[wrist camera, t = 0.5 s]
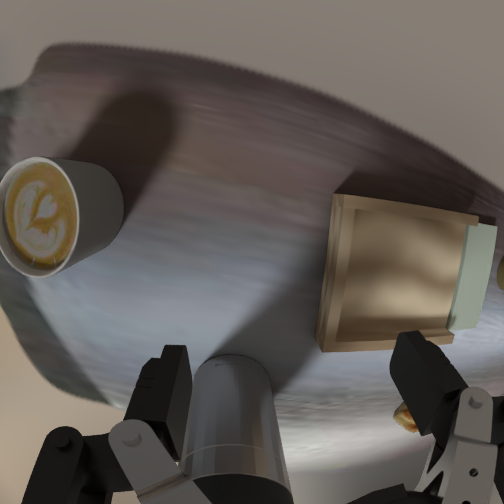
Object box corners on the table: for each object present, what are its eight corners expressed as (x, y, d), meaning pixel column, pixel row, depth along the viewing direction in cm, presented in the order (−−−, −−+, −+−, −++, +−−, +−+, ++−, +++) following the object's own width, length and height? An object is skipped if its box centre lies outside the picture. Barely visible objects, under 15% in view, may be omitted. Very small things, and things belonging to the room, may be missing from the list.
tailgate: (442, 327, 35) (471, 324, 35) (447, 330, 34) (476, 327, 34) (464, 220, 32) (491, 225, 33) (469, 221, 31) (497, 226, 31)
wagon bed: (437, 332, 35) (451, 343, 32) (314, 337, 34) (322, 352, 31) (461, 213, 32) (478, 216, 29) (332, 193, 31) (344, 194, 27)
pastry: (427, 367, 37) (440, 380, 33) (449, 379, 38) (462, 391, 34) (387, 416, 38) (397, 431, 34) (412, 424, 39) (422, 438, 35)
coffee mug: (128, 163, 29) (85, 155, 19) (121, 258, 31) (80, 286, 21) (29, 163, 28) (-26, 160, 18) (26, 246, 30) (-27, 265, 20)
